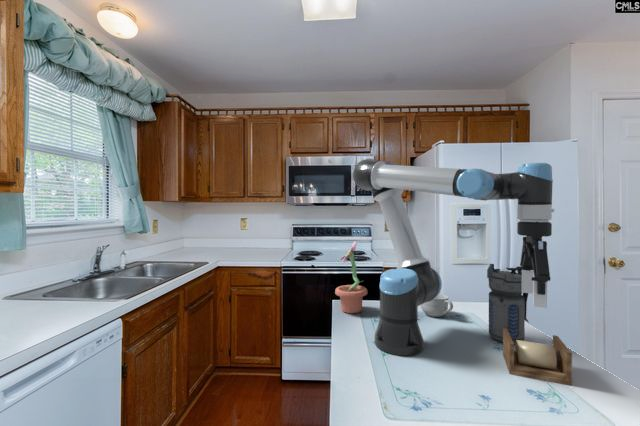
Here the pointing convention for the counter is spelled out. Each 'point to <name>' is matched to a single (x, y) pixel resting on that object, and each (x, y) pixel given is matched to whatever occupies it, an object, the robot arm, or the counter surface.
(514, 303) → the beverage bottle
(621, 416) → the counter surface
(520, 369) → the holder
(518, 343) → the cylinder
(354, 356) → the counter surface
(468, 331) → the counter surface
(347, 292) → the decorative flower
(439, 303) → the teacup
